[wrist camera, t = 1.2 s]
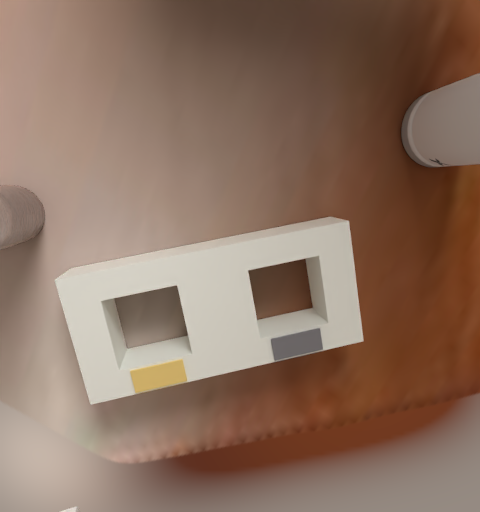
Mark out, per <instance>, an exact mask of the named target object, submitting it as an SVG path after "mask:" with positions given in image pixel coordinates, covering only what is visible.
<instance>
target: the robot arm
mask: <svg viewBox="0 0 480 512" xmlns="http://www.w3.org/2000/svg"><path fill="white" fill-rule="evenodd" d="M60 512H80V511H79V509H78V507H77V506H76V507H73V508H70V509H67V510H63V511H60Z"/></svg>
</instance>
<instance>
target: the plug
mask: <svg viewBox="0 0 480 512" xmlns="http://www.w3.org/2000/svg"><path fill="white" fill-rule="evenodd" d="M44 220H45V212H44V208H43V205H42V203H41V201H40V200H39V198H38V197H37V196H36V195H35V194H34V193H33V192H31V191H30V190H28V189H26V188H23V187H20V186H15V185H0V250H2V249H4V248H7V247H10V246H13V245H16V244H19V243H22V242H24V241H27V240H30V239H32V238H33V237H35V236H36V235H37V234H38V233H39V232H40V230H41V229H42V227H43V224H44Z"/></svg>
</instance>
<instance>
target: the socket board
mask: <svg viewBox="0 0 480 512" xmlns="http://www.w3.org/2000/svg"><path fill="white" fill-rule="evenodd" d="M301 259H306V266H307V273H308V280H309V286H310V293H311V300H312V307H313V308H309V309H305V310H300V311H296V312H291V313H287V314H282V315H278V316H273V317H269V318H264V319H260V320H257V317H256V312H255V306H254V301H253V295H252V289H251V284H250V278H249V273H248V270H253V269H257V268H262V267H267V266H272V265H277V264H281V263H286V262H291V261H296V260H301ZM55 283H56V287H57V290H58V294H59V297H60V301H61V304H62V308H63V311H64V315H65V318H66V321H67V325H68V328H69V332H70V335H71V339H72V342H73V346H74V349H75V353H76V356H77V360H78V363H79V367H80V370H81V374H82V377H83V381H84V384H85V388H86V391H87V394H88V398H89V401H90V405H92V404H96V403H101V402H105V401H109V400H113V399H118V398H122V397H126V396H131V395H135V394H141V393H145V392H150V391H154V390H158V389H163V388H167V387H171V386H175V385H180V384H184V383H188V382H191V381H195V380H199V379H204V378H208V377H212V376H216V375H221V374H225V373H229V372H234V371H238V370H242V369H247V368H251V367H255V366H259V365H264V364H268V363H272V362H278V361H283V360H287V359H291V358H296V357H300V356H304V355H308V354H313V353H317V352H321V351H324V350H328V349H332V348H337V347H341V346H345V345H350V344H354V343H358V342H362V341H364V340H363V332H362V324H361V316H360V308H359V299H358V291H357V283H356V275H355V267H354V258H353V250H352V242H351V234H350V225H349V221H347V220H343V219H338V218H334V217H326V218H321V219H316V220H311V221H306V222H300V223H295V224H290V225H285V226H280V227H275V228H270V229H265V230H260V231H255V232H250V233H245V234H240V235H235V236H230V237H225V238H220V239H215V240H210V241H205V242H200V243H195V244H190V245H185V246H180V247H174V248H169V249H164V250H159V251H154V252H149V253H144V254H139V255H134V256H129V257H124V258H119V259H114V260H109V261H104V262H99V263H94V264H89V265H84V266H79V267H74V268H70V269H69V270H68V271H66V272H65V273H63V274H62V275H61V276H59V277H58V278H56V279H55ZM176 285H177V287H178V292H179V296H180V301H181V305H182V310H183V314H184V319H185V323H186V328H187V332H188V335H187V336H183V337H178V338H174V339H169V340H165V341H160V342H156V343H151V344H146V345H142V346H137V347H133V348H128V349H127V346H126V342H125V338H124V334H123V330H122V326H121V322H120V319H119V315H118V311H117V307H116V303H115V299H114V298H118V297H123V296H128V295H132V294H137V293H142V292H147V291H152V290H156V289H161V288H166V287H171V286H176Z"/></svg>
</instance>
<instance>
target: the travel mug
mask: <svg viewBox="0 0 480 512" xmlns="http://www.w3.org/2000/svg"><path fill="white" fill-rule="evenodd" d="M401 136H402V142H403V145H404V148H405V150H406V152H407V153H408V155H409V156H410V157H411V158H412V159H413V160H414V161H415V162H417V163H418V164H420V165H423V166H426V167H444V166H460V165H474V164H480V73H478V74H475V75H473V76H470V77H468V78H465V79H462V80H460V81H457V82H455V83H452V84H449V85H447V86H444V87H441V88H439V89H437V90H434V91H431V92H428V93H426V94H424V95H422V96H420V97H419V98H418V99H416V100H415V101H414V102H413V103H412V104H411V106H410V107H409V108H408V110H407V112H406V114H405V116H404V119H403V122H402V128H401Z"/></svg>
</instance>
